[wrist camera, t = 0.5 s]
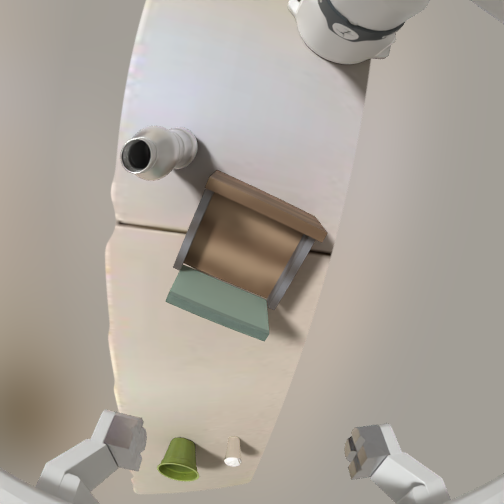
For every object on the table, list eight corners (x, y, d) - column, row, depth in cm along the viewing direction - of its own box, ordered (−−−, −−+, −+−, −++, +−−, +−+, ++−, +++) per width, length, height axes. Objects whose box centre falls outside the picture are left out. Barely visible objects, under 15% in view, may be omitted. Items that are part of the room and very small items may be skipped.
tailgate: (183, 264, 50) (168, 293, 41) (266, 299, 53) (269, 334, 43) (180, 271, 51) (165, 301, 41) (262, 306, 53) (264, 341, 44)
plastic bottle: (206, 134, 45) (176, 132, 27) (191, 173, 48) (154, 196, 29) (169, 122, 44) (119, 115, 26) (156, 160, 47) (100, 177, 28)
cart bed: (216, 169, 47) (209, 177, 39) (315, 216, 50) (327, 232, 42) (180, 253, 53) (168, 275, 44) (272, 292, 56) (275, 320, 47)
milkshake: (247, 437, 73) (246, 466, 64) (234, 444, 74) (233, 472, 65) (234, 431, 72) (233, 461, 62) (222, 438, 73) (220, 467, 64)
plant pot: (210, 448, 76) (207, 478, 65) (181, 454, 78) (176, 483, 67) (185, 429, 72) (179, 461, 61) (155, 436, 74) (148, 466, 64)
